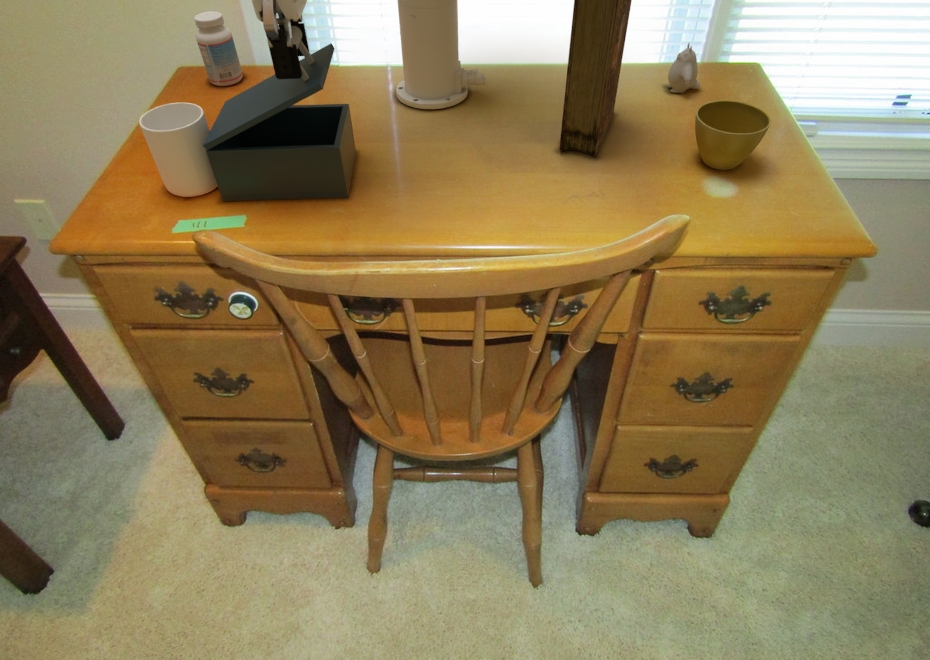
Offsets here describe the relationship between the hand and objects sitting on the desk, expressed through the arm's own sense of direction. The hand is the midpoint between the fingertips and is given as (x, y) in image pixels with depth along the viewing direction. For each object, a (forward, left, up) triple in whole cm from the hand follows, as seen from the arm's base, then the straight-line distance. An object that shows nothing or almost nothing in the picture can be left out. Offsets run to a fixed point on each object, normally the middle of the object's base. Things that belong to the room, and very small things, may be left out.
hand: (293, 65), depth 82 cm
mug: (+17, -1, -16) cm, 24 cm away
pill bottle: (+21, -33, -16) cm, 43 cm away
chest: (+4, 0, -16) cm, 17 cm away
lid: (+4, 0, -4) cm, 6 cm away
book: (-42, -10, -16) cm, 46 cm away
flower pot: (-60, 0, -16) cm, 62 cm away
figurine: (-61, -24, -16) cm, 68 cm away
